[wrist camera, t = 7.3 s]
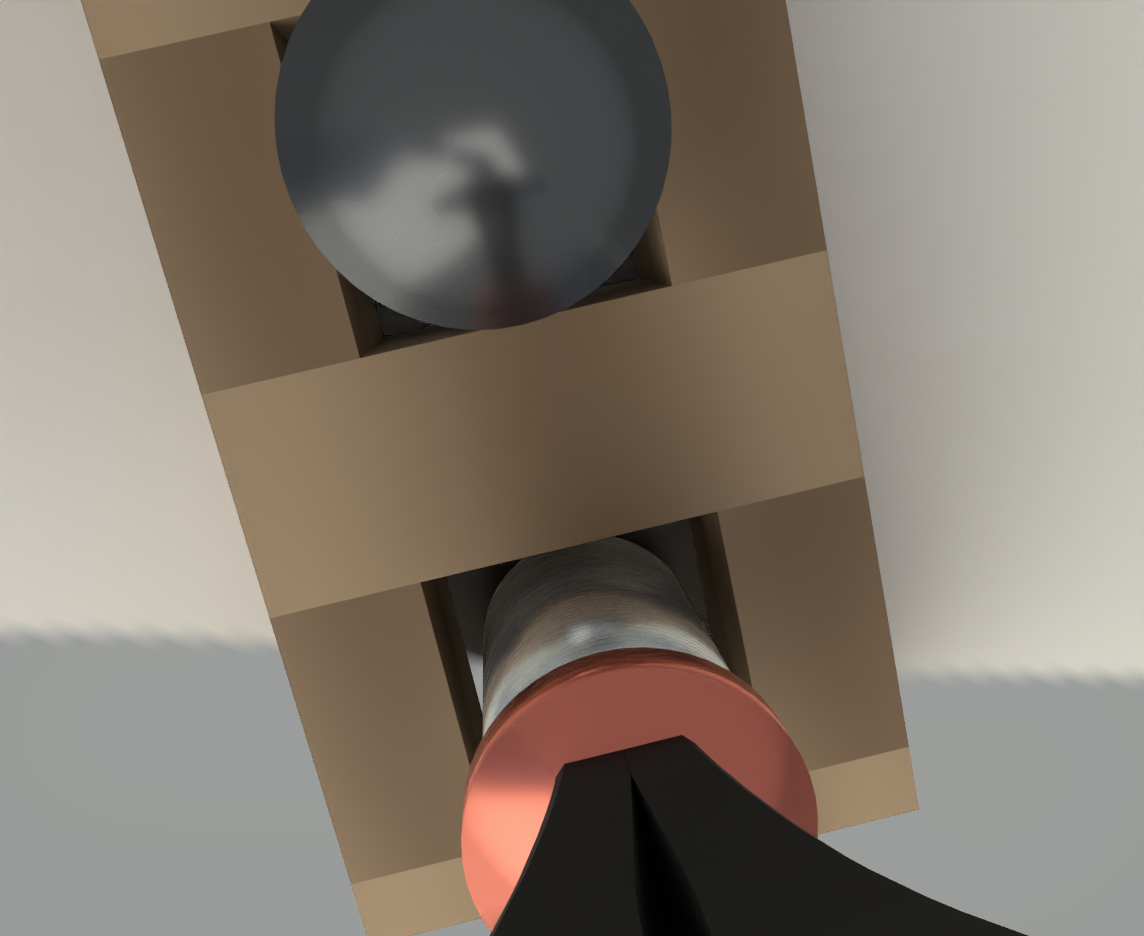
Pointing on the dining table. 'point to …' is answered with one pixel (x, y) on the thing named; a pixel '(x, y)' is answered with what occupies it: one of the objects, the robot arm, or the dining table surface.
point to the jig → (519, 428)
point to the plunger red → (602, 699)
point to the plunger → (473, 149)
